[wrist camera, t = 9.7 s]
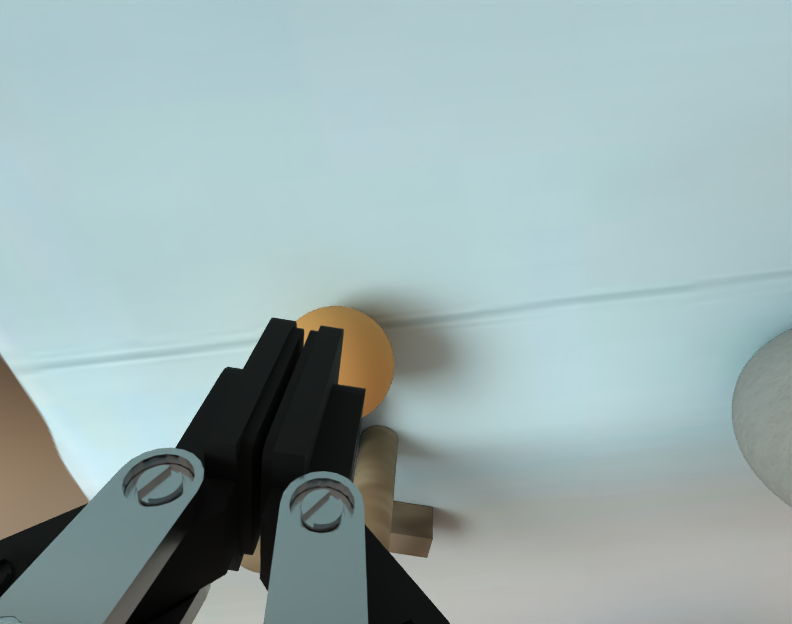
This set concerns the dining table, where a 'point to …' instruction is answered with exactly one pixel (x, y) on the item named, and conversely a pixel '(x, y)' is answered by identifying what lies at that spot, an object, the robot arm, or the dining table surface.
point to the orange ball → (357, 351)
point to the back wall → (411, 529)
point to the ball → (767, 415)
